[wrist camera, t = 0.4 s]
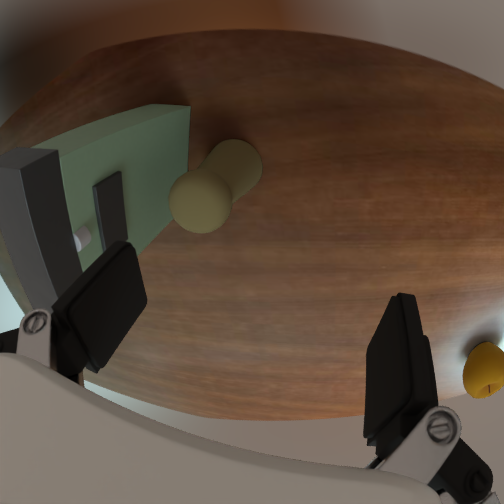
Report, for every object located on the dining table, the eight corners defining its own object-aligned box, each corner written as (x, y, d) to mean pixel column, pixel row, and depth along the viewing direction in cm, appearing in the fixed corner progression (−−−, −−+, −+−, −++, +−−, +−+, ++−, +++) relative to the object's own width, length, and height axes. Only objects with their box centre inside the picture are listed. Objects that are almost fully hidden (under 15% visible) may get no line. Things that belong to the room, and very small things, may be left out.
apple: (467, 332, 34) (479, 379, 27) (508, 328, 32) (523, 371, 25) (451, 365, 39) (458, 409, 32) (489, 361, 36) (499, 401, 29)
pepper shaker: (213, 133, 29) (158, 164, 20) (268, 147, 29) (235, 185, 20) (204, 183, 33) (155, 231, 24) (255, 198, 32) (222, 254, 23)
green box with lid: (151, 99, 28) (-17, 164, 11) (195, 102, 27) (24, 169, 11) (152, 201, 36) (35, 313, 19) (190, 209, 35) (79, 339, 18)
